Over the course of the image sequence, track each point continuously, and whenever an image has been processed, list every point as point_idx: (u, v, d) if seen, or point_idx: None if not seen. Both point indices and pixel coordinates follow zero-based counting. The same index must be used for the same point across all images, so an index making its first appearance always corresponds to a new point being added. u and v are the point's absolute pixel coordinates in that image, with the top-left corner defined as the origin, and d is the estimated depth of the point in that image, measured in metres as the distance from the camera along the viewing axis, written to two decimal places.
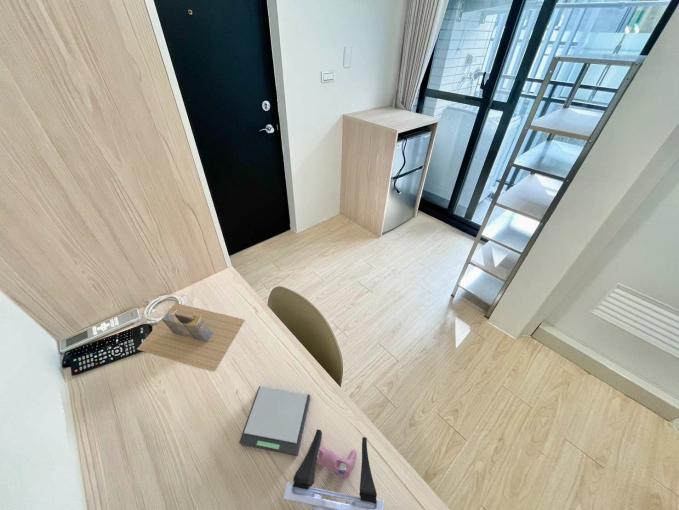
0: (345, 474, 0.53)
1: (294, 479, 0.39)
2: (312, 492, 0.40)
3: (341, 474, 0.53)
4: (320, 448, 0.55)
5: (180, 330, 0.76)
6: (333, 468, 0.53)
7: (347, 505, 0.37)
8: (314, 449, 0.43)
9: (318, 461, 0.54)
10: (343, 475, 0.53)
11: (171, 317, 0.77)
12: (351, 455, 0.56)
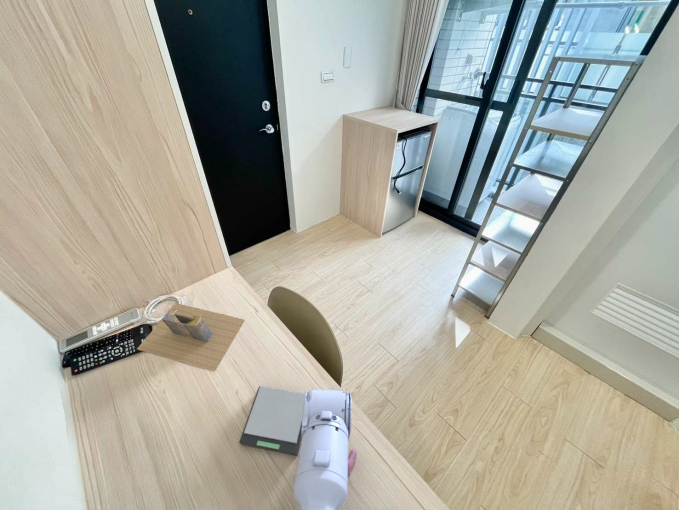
0: None
1: None
2: None
3: None
4: None
5: (180, 330, 0.76)
6: None
7: None
8: None
9: None
10: None
11: (171, 317, 0.77)
12: (351, 455, 0.56)
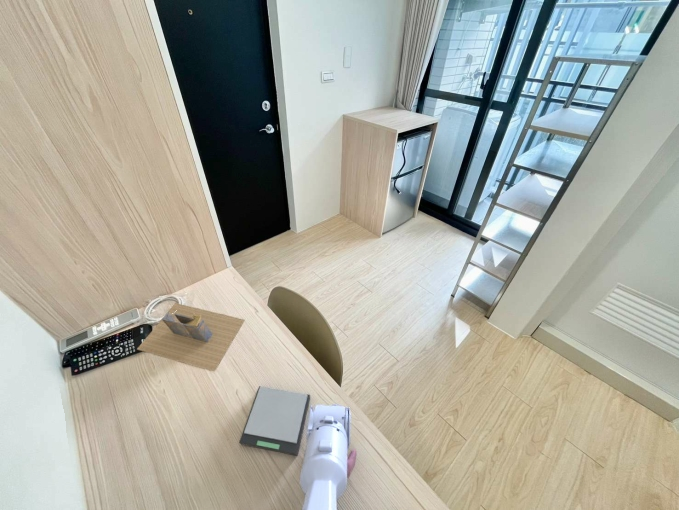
0: None
1: None
2: None
3: None
4: None
5: (180, 330, 0.76)
6: None
7: None
8: None
9: None
10: None
11: (171, 317, 0.77)
12: (351, 455, 0.56)
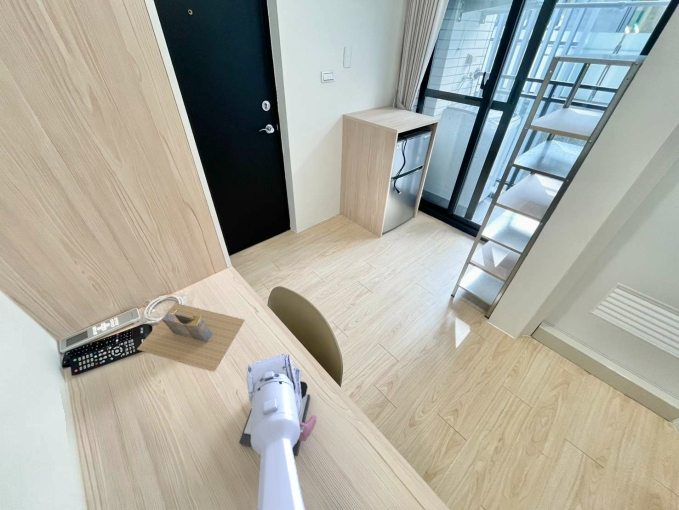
0: (301, 436, 0.51)
1: None
2: None
3: None
4: None
5: (180, 330, 0.76)
6: None
7: None
8: None
9: None
10: (299, 437, 0.51)
11: (171, 317, 0.77)
12: (310, 420, 0.55)
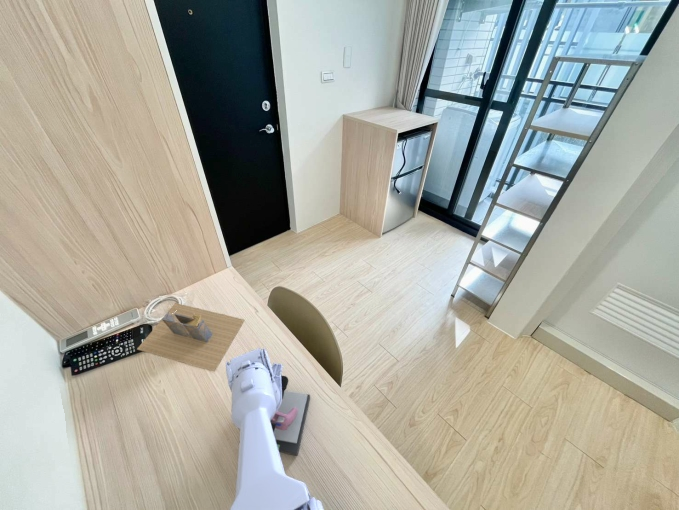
0: (282, 426, 0.56)
1: None
2: None
3: (278, 426, 0.55)
4: None
5: (180, 330, 0.76)
6: None
7: None
8: None
9: None
10: (280, 427, 0.55)
11: (171, 317, 0.77)
12: (291, 411, 0.59)
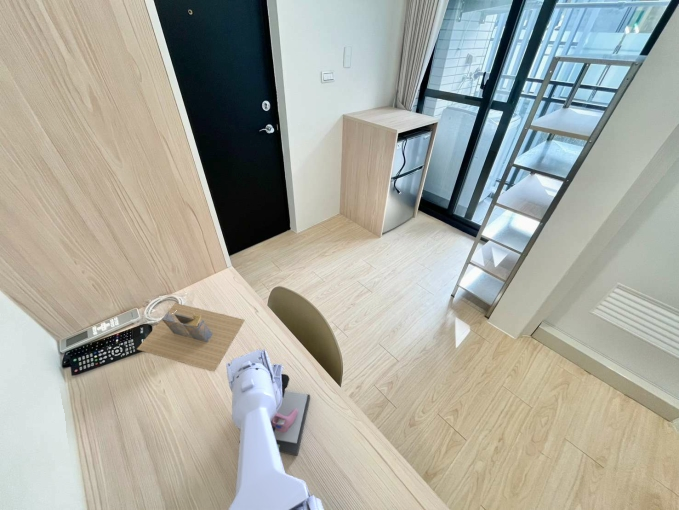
0: (282, 428, 0.56)
1: None
2: None
3: (278, 428, 0.56)
4: None
5: (180, 330, 0.76)
6: (271, 423, 0.56)
7: None
8: None
9: None
10: (280, 429, 0.56)
11: (171, 317, 0.77)
12: (291, 413, 0.59)
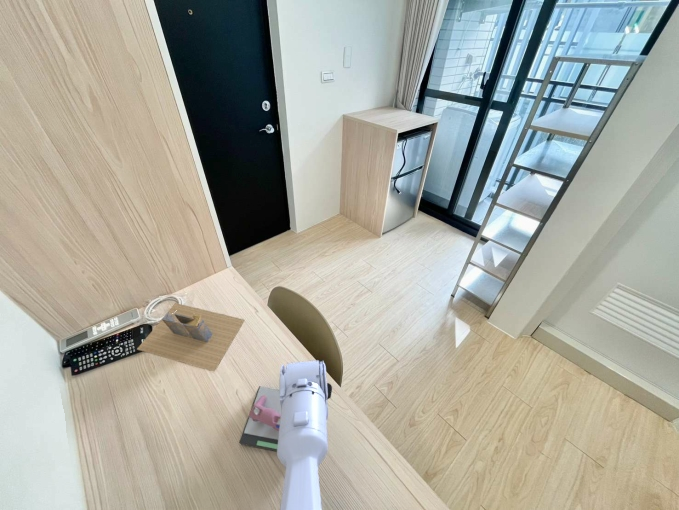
0: None
1: None
2: None
3: (278, 428, 0.56)
4: (261, 407, 0.59)
5: (180, 330, 0.76)
6: (271, 423, 0.56)
7: None
8: None
9: (257, 418, 0.57)
10: None
11: (171, 317, 0.77)
12: None
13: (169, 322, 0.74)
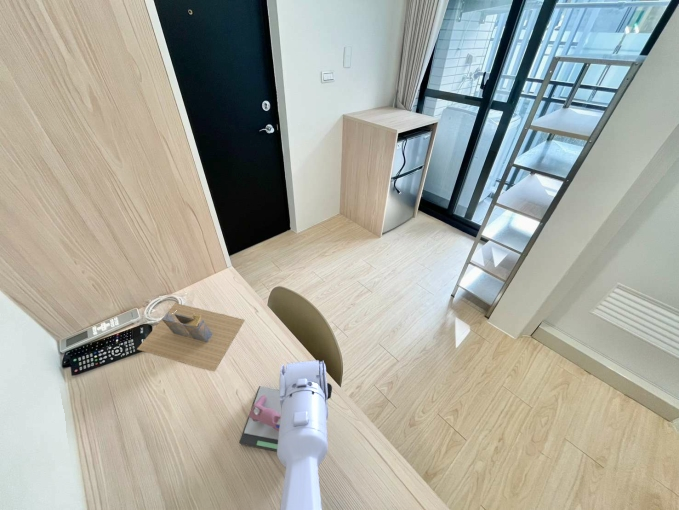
0: None
1: None
2: None
3: (278, 428, 0.56)
4: (261, 407, 0.59)
5: (180, 330, 0.76)
6: (271, 423, 0.56)
7: None
8: None
9: (257, 418, 0.57)
10: None
11: (171, 317, 0.77)
12: None
13: (169, 322, 0.74)
